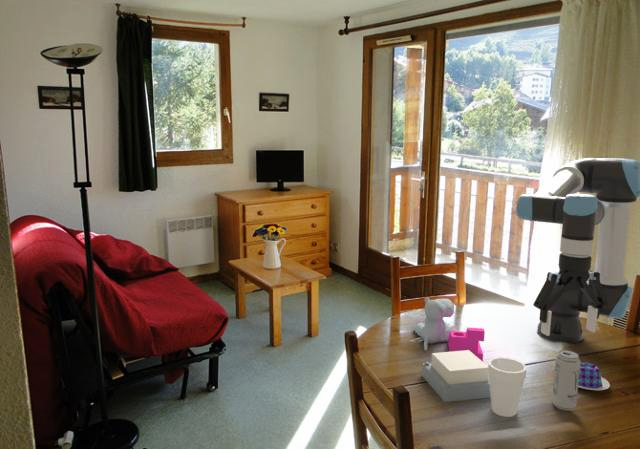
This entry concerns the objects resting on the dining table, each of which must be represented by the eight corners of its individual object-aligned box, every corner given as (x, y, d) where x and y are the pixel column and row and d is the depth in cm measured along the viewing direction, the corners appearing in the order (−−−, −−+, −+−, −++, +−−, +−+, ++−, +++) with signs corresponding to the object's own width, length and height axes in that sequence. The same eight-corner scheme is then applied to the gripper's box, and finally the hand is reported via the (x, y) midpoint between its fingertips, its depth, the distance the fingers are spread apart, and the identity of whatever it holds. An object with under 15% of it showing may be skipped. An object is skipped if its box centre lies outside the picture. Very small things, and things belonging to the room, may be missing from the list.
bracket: (482, 361, 168) (484, 331, 166) (450, 358, 170) (451, 329, 168) (477, 346, 180) (479, 318, 178) (447, 344, 182) (449, 316, 180)
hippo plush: (466, 340, 184) (468, 298, 181) (425, 351, 174) (426, 307, 172) (436, 327, 197) (437, 288, 194) (396, 337, 187) (397, 296, 185)
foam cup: (480, 402, 142) (483, 357, 140) (512, 400, 143) (516, 356, 141) (494, 420, 133) (497, 373, 131) (529, 419, 134) (533, 372, 132)
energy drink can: (572, 414, 136) (577, 360, 134) (548, 406, 140) (553, 354, 138) (578, 405, 141) (583, 353, 138) (555, 398, 145) (560, 347, 142)
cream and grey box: (470, 371, 161) (471, 346, 159) (497, 396, 145) (499, 369, 144) (421, 375, 158) (422, 351, 156) (444, 402, 142) (446, 374, 141)
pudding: (600, 375, 159) (602, 359, 159) (616, 394, 148) (618, 377, 147) (559, 372, 161) (561, 356, 160) (571, 390, 150) (573, 373, 149)
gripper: (607, 249, 140) (599, 324, 143) (523, 252, 135) (517, 329, 139) (628, 255, 132) (619, 334, 136) (541, 259, 128) (534, 340, 131)
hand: (568, 332), depth 137 cm, fingers open, 13 cm apart
